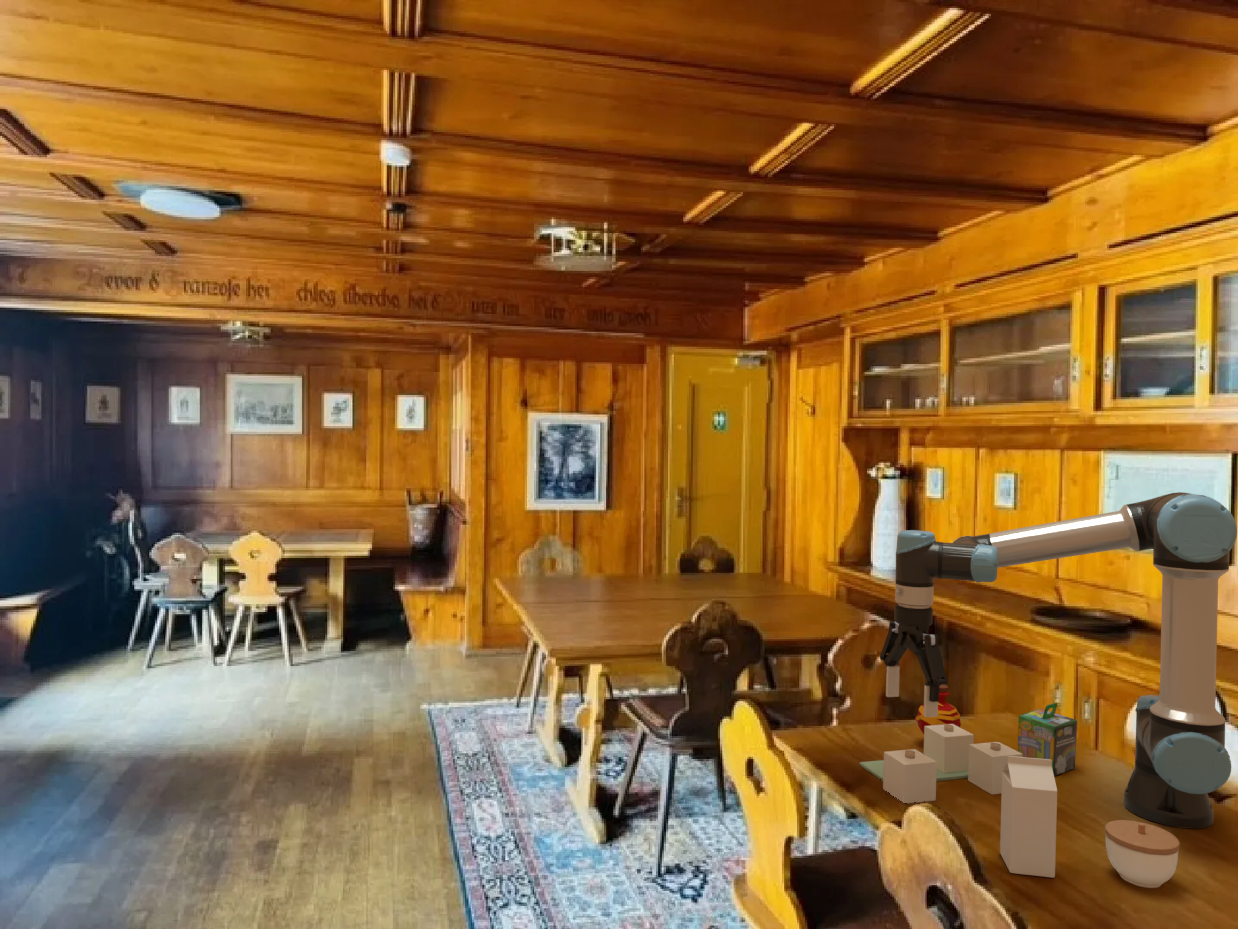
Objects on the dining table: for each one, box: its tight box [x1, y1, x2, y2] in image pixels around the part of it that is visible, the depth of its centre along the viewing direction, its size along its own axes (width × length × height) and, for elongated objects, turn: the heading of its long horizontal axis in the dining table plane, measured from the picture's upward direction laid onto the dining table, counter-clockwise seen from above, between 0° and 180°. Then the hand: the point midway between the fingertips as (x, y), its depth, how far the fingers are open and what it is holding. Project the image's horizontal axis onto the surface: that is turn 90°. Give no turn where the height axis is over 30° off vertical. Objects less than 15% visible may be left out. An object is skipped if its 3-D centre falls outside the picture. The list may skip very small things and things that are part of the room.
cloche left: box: [882, 748, 937, 804], centre depth 175 cm, size 8×8×9 cm
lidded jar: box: [1104, 819, 1181, 889], centre depth 142 cm, size 11×11×9 cm
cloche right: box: [967, 741, 1023, 795], centre depth 180 cm, size 8×8×9 cm
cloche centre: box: [923, 724, 975, 773], centre depth 190 cm, size 8×8×9 cm
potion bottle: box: [915, 684, 962, 735], centre depth 203 cm, size 10×10×15 cm
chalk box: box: [1017, 702, 1078, 777], centre depth 192 cm, size 9×9×15 cm
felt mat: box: [859, 759, 968, 782], centre depth 188 cm, size 12×24×1 cm, turn 105°
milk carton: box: [999, 756, 1058, 878], centre depth 145 cm, size 7×7×19 cm
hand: (910, 706), depth 175 cm, fingers open, 13 cm apart
